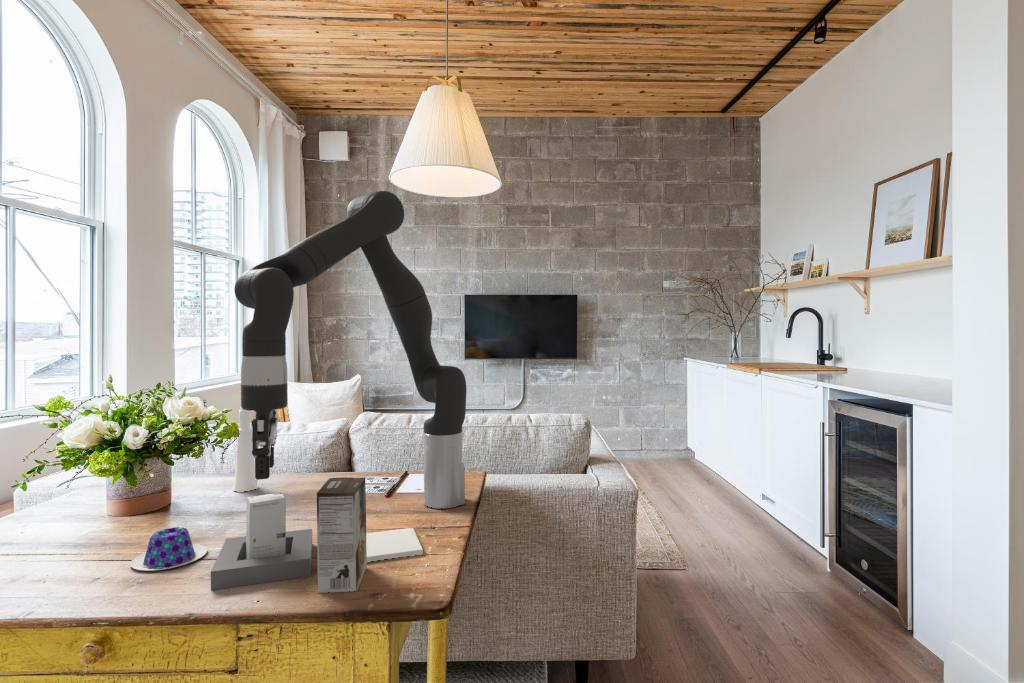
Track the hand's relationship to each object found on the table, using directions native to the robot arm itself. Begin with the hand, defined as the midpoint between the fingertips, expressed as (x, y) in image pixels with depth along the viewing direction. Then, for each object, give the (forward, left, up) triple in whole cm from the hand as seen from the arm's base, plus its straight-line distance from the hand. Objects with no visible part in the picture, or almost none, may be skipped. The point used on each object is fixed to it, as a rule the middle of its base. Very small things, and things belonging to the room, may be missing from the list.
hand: (265, 472), depth 97 cm
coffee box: (-13, +11, -17) cm, 24 cm away
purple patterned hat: (+17, -9, -17) cm, 26 cm away
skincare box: (0, 0, -17) cm, 17 cm away
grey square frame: (0, 0, -16) cm, 16 cm away
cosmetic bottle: (+10, -54, -17) cm, 57 cm away
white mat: (-21, -1, -16) cm, 27 cm away
